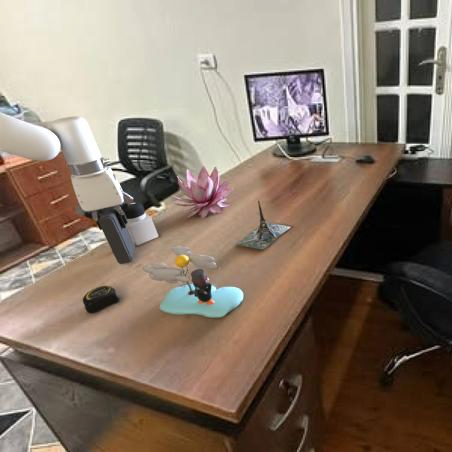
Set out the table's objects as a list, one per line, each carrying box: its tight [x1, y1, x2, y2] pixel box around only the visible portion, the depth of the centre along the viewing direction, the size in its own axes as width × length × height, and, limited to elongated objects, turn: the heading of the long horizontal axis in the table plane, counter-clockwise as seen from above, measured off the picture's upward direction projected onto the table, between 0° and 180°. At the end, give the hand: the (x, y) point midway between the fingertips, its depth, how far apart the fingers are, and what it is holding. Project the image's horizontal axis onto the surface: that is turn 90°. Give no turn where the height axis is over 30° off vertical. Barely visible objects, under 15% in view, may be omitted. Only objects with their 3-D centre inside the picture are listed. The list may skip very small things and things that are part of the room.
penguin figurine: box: [142, 245, 244, 319], centre depth 80 cm, size 20×11×15 cm, turn 75°
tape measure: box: [82, 285, 120, 315], centre depth 86 cm, size 7×7×4 cm
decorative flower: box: [170, 165, 235, 220], centre depth 125 cm, size 21×21×15 cm
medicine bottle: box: [124, 202, 159, 247], centre depth 112 cm, size 7×7×12 cm
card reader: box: [98, 206, 136, 265], centre depth 100 cm, size 9×4×15 cm, turn 19°
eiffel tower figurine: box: [236, 199, 292, 250], centre depth 106 cm, size 15×10×13 cm
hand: (115, 227), depth 99 cm, fingers closed on card reader, 4 cm apart
